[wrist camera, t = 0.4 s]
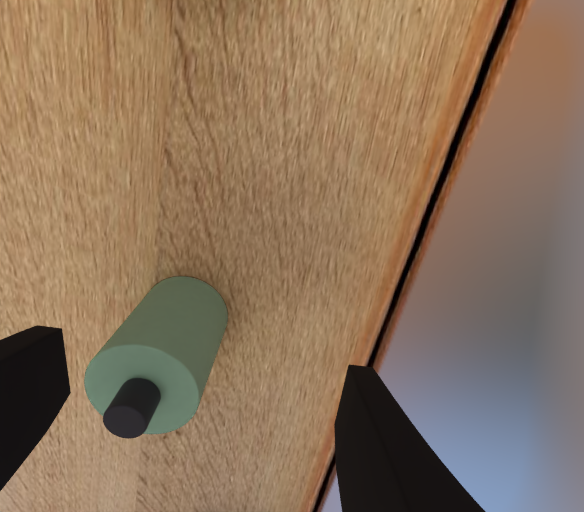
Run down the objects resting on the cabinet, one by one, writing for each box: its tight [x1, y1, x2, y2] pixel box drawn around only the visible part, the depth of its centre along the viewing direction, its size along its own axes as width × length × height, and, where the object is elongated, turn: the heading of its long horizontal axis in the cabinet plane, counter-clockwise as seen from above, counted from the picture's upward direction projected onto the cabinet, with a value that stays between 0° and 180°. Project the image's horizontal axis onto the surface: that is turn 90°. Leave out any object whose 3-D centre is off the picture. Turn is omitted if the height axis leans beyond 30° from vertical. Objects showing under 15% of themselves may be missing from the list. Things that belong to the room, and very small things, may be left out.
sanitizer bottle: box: [84, 276, 228, 438], centre depth 16 cm, size 5×5×8 cm
